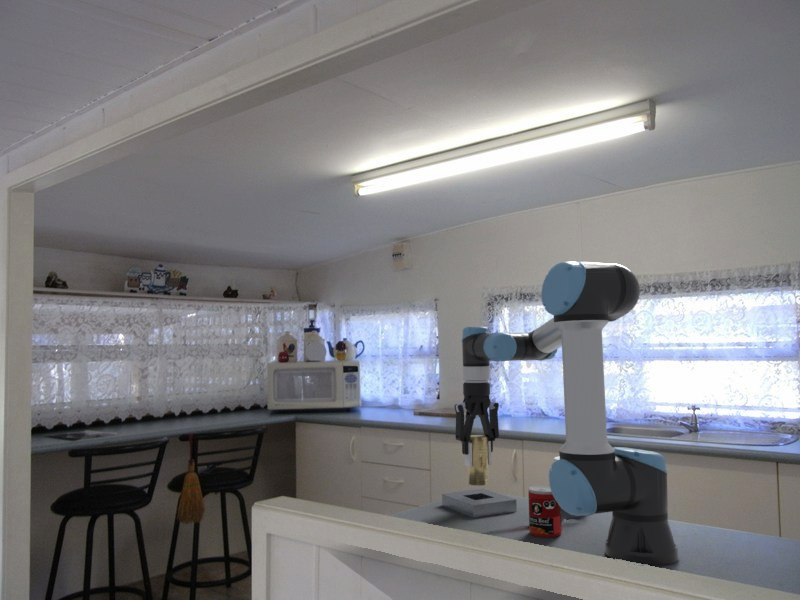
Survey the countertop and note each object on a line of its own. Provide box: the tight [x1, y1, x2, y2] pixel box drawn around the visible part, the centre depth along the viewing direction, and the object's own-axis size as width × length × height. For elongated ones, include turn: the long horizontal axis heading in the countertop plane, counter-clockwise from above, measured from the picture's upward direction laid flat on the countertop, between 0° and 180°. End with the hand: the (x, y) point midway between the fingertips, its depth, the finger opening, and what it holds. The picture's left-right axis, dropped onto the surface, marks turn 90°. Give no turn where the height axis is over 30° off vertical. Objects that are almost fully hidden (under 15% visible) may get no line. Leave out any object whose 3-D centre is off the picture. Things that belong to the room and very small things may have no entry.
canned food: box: [528, 484, 563, 539], centre depth 168 cm, size 8×8×11 cm
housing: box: [441, 488, 518, 519], centre depth 189 cm, size 16×14×4 cm
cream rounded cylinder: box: [467, 434, 489, 487], centre depth 190 cm, size 6×6×13 cm
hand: (477, 465), depth 190 cm, fingers closed on cream rounded cylinder, 6 cm apart
